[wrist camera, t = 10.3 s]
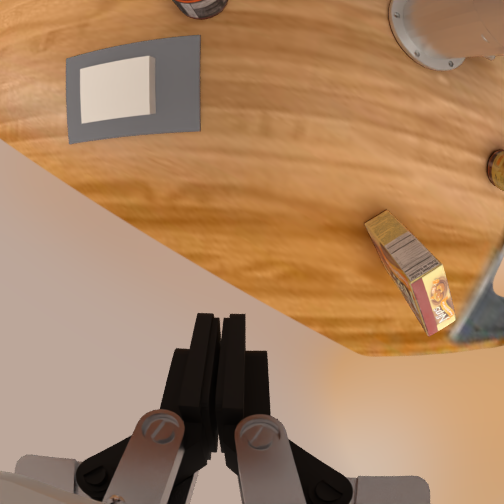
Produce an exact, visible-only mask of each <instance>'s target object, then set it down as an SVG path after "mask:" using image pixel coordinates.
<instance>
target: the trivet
mask: <svg viewBox="0 0 504 504" xmlns="http://www.w3.org/2000/svg"><path fill="white" fill-rule="evenodd" d="M200 43H201V36H200V35H192V36H181V37H172V38H163V39H156V40H149V41H143V42H137V43H131V44H125V45H120V46H115V47H111V48H106V49H102V50H97V51H93V52H89V53H85V54H81V55H78V56H74V57H71V58H67V59H66V104H67V124H68V137H69V144H74V143H80V142H87V141H94V140H101V139H109V138H117V137H126V136H136V135H147V134H160V133H174V132H194V131H201V127H200ZM143 56H151V57H154V58H155V93H156V114H149V115H139V116H131V117H123V118H115V119H108V120H101V121H95V122H89V123H83V124H82V122H81V100H80V69H82V68H86V67H91V66H95V65H100V64H104V63H109V62H114V61H119V60H125V59H130V58H137V57H143Z"/></svg>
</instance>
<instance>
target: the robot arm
mask: <svg viewBox="0 0 504 504" xmlns="http://www.w3.org/2000/svg"><path fill="white" fill-rule="evenodd" d="M394 15H395V16H396V17H395V16H394ZM389 21H390V26H391V29H392V31H393V34H394V36H395V38H396V40H397V42H398V43H399V45H400V46H401V47H402V49H403V50H404V51H405V52H406V53H407V54H408V55H409V57H411V58H412V59H413V60H414V61H416V62H417V63H419V64H420V65H422V66H424V67H426V68H428V69H431V70H436V71H448V70H452V69H455V68H457V67H458V66H460V65H461V64H462V63H463V61H464V60H465V58H466V57H479V56H482V57H485V58H487V59H489V60H493V59H494V58H495V56H500V55H504V0H392V1H391V3H390V7H389ZM414 53H415V54H414ZM218 434H219V440H220V446H221V452H222V453H225V459H226V466H227V467H228V468H229V469H231V470H232V471H233V472H234V473H235V474H237V476H238V483H239V488H240V494H241V500H242V504H430V489H429V486H428V484H427V482H426V481H425V480H424V479H422V478H421V477H418V476H386V477H385V476H375V477H374V476H358V477H357V478H346V477H345V476H344V475H342V474H341V473H339V472H337V471H336V470H334V469H332V468H331V467H329V466H328V465H326V464H324V463H323V462H321V461H320V460H318V459H317V458H315V457H314V456H312V455H311V454H309V453H308V452H306V451H305V450H303V449H302V448H300V447H299V446H297V445H296V444H295V443H293V442H292V441H290V440H289V439H288V437H287V433H286V430H285V428H284V426H283V424H282V423H281V422H280V421H279V420H278V419H276V418H274V417H272V416H271V415H270V397H269V377H268V359H267V351H246V348H245V314H230V318H224V321H223V330H222V338H221V334H220V320H219V318H214V314H210V313H198V314H197V318H196V322H195V327H194V331H193V336H192V341H191V345H190V349H179V348H176V349H175V352H174V355H173V358H172V362H171V366H170V370H169V374H168V378H167V382H166V386H165V390H164V394H163V398H162V402H161V407H160V409H158V410H153V411H150V412H148V413H146V414H145V415H143V416H142V417H141V418H140V420H139V421H138V423H137V425H136V427H135V430H134V432H133V434H132V435H131V436H130V437H128V438H126V439H124V440H122V441H121V442H119V443H117V444H115V445H113V446H111V447H109V448H107V449H105V450H104V451H102V452H100V453H98V454H96V455H94V456H92V457H90V458H88V459H87V460H85V461H83V462H79V461H76V460H75V459H66V458H55V457H45V456H38V455H25V456H23V457H21V458H20V459H19V460H18V461H17V464H16V468H15V473H10V472H2V471H0V504H190V500H191V497H192V493H193V490H194V487H195V483H196V480H197V476H198V470H200V469H201V468H203V467H204V466H206V465H207V460H210V459H211V452H217V446H218Z"/></svg>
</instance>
